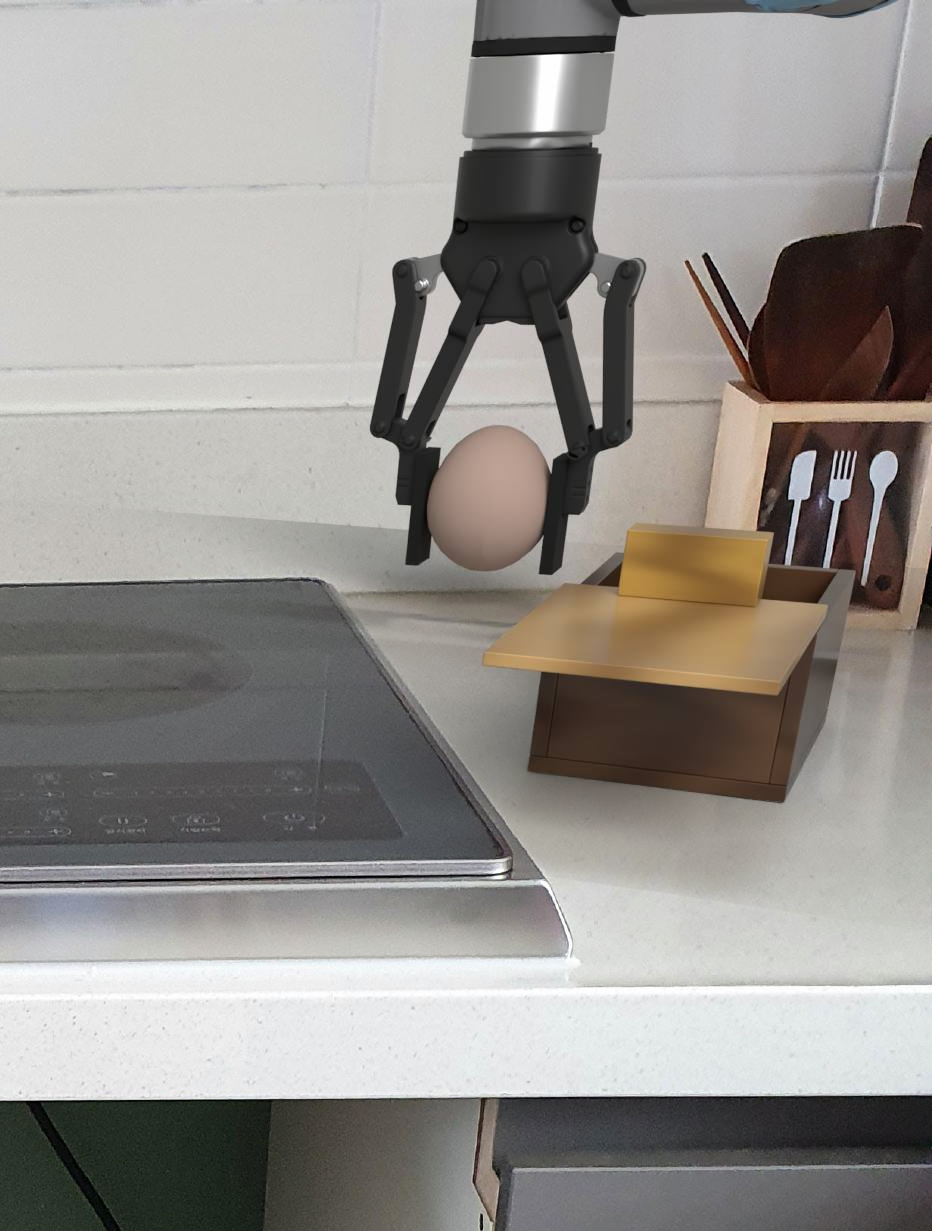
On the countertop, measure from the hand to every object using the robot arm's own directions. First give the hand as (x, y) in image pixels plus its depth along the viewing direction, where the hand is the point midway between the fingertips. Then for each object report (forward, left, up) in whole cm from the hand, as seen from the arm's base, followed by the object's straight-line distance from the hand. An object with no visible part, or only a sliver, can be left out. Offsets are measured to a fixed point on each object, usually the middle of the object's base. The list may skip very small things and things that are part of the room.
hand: (482, 565), depth 126 cm
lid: (-15, +33, +4) cm, 36 cm away
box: (-15, +20, -4) cm, 25 cm away
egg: (0, 0, 0) cm, 0 cm away
